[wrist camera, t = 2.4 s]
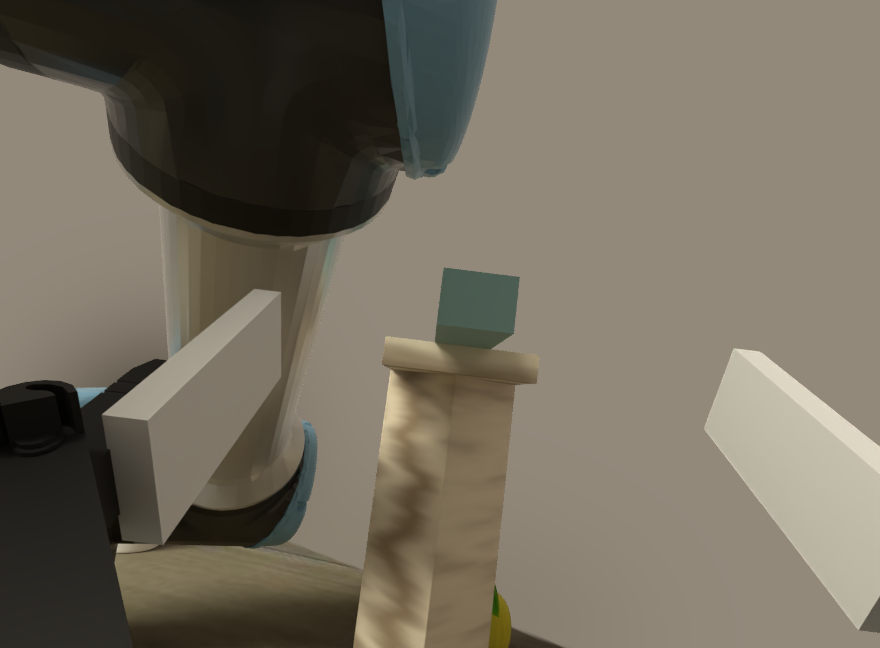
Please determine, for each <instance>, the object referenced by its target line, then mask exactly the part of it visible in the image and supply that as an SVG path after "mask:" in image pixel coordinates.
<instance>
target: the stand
mask: <svg viewBox="0 0 880 648" xmlns="http://www.w3.org/2000/svg"><path fill="white" fill-rule="evenodd" d="M382 365H384V366H386V367H388V368H390V369H391V371H390V378H389V386H388V393H387V400H386V408H385V415H384V423H383V430H382V437H381V445H380V452H379V459H378V467H377V474H376V482H375V489H374V497H373V505H372V511H371V519H370V526H369V533H368V541H367V548H366V556H365V563H364V570H363V578H362V585H361V592H360V600H359V607H358V615H357V622H356V629H355V637H354V644H353V648H488V646H489V636H490V627H491V617H492V607H493V597H494V588H495V578H496V567H497V558H498V549H499V539H500V529H501V519H502V509H503V500H504V490H505V480H506V470H507V461H508V450H509V440H510V431H511V422H512V412H513V401H514V392H515V385H521V384H536V383H537V375H538V365H539V355H532V354H525V353H516V352H508V351H500V350H492V349H484V348H476V347H468V346H460V345H452V344H444V343H436V342H428V341H419V340H412V339H403V338H396V337H388V336H386V339H385V347H384V353H383V361H382Z"/></svg>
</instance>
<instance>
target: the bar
mask: <svg viewBox="0 0 880 648" xmlns="http://www.w3.org/2000/svg"><path fill="white" fill-rule="evenodd" d="M519 278H520V277H514V276H507V275H499V274H490V273H482V272H474V271H467V270H459V269H451V268H444V271H443V278H442V286H441V294H440V302H439V310H438V318H437V326H436V336H435V342H436V343H444V344H452V345H460V346H468V347H476V348H484V349H492V348H493V347H495V346H496V345H498V344H499V343H501V342H502V341H504V340H505V339H506V338H508V337H509V336H511V335H512V334H514V326H515V316H516V306H517V297H518V288H519Z"/></svg>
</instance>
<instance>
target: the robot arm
mask: <svg viewBox="0 0 880 648" xmlns="http://www.w3.org/2000/svg"><path fill="white" fill-rule="evenodd" d="M496 3H497V0H0V64H2V65H5V66H7V67H10V68H14V69H18V70H22V71H25V72H29V73H33V74H37V75H41V76H45V77H48V78H51V79H55V80H59V81H62V82H66V83H70V84H73V85H78V86H81V87H84V88H87V89H90V90H94V91H97V92H100V93H101V94H102V95H103V97H104V99H105V105H106V110H107V118H108V126H109V133H110V139H111V145H112V150H113V153H114V155H115V158H116V160H117V162H118V164H119V166H120V167H121V169H122V170H123V172H124V173H125V175H126V176H127V177H128V178H129V179H130V180H131V181H132V182H133V183H134V184H135V185H136V186H137V187H138V188H139V189H140V190H141V191H142V192H143V193H145V194H146V195H147V196H148V197H150V198H151V199H152V200H154V201H155V202H157V203H158V204H159V215H160V231H161V245H162V246H161V247H162V263H163V278H164V295H165V310H166V326H167V342H168V358H169V360H159V359H154V360H152V361H149V362H147V363H144V364H142V365H140V366H137V367H135V368H133V369H131V370H130V371H129V372H127V373H126V374H125V375H123V376H122V377H121V378H120V379H119V380H117V383H113V384H112V385H110V386H109V387H108V388H74V386H73V385H71V384H68V383H65V382H62V381H50V380H49V381H48V380H42V381H33V382H25V383H20V384H16V385H12V386H8V387H5V388H3V389H0V648H133V645H132V640H131V636H130V631H129V627H128V622H127V618H126V613H125V609H124V605H123V600H122V596H121V591H120V587H119V582H118V578H117V573H116V569H115V564H114V561H115V556H116V551H117V546H118V544H157V545H163V544H167V545H211V546H243V547H244V548H253V549H255V548H259V547H261V546H276V545H281V544H283V543H285V542H287V541H288V540H290V539H291V538H292V537H293V536H294V534H295V533H296V532H297V530H298V528H299V527H300V525H301V522H302V520H303V518H304V515H305V512H306V505H307V503H306V502H307V501H308V500H309V498H310V495H311V491H312V487H313V482H314V476H315V470H316V461H317V436H316V432H315V430H314V428H313V427H312V425H311V424H310V423H309V422H307V421H303V420H301V419H300V416H299V414H298V412H297V411H296V409H297V405H298V401H299V398H300V394H301V390H302V387H303V383H304V379H305V376H306V373H307V369H308V365H309V362H310V358H311V354H312V351H313V347H314V344H315V340H316V336H317V333H318V329H319V325H320V322H321V318H322V315H323V311H324V307H325V304H326V300H327V297H328V293H329V290H330V286H331V282H332V279H333V275H334V271H335V268H336V264H337V261H338V257H339V253H340V250H341V246H342V243H343V239H344V235H347V234H350V233H352V232H354V231H356V230H358V229H361V228H363V227H364V226H366V225H367V224H369V223H370V222H372V221H373V220H374V219H375V218H376V217H377V216H378V215H379V214H380V213H381V212H382V210H383V209H384V208H385V206H386V204H387V202H388V200H389V198H390V195H391V192H392V188H393V185H394V183H395V180H396V176H397V174H398V171H399V170H400V171H405V172H406V176H407V177H409V178H412V179H417V178H420V177H423V176H424V177H436V176H437V175H439V174H441V173H443V172H444V171H445V169H446V167H447V165H448V164H449V163H451V162H452V161H453V160H454V158H455V156H456V154H457V152H458V150H459V148H460V145H461V143H462V141H463V138H464V135H465V133H466V130H467V127H468V124H469V121H470V118H471V115H472V111H473V108H474V105H475V101H476V97H477V94H478V90H479V86H480V83H481V79H482V75H483V71H484V66H485V62H486V57H487V53H488V48H489V43H490V37H491V32H492V27H493V21H494V15H495V9H496ZM704 430H705V431H706V432H707V434H708V435H709V436H710V437H711V439H712V440H713V441H714V443H715V444H716V445H717V447H718V448H719V449H720V450H721V452H722V453H723V454H724V456H725V457H726V458H727V460H728V461H729V462H730V464H731V465H732V466H733V467H734V469H735V470H736V471H737V473H738V474H739V475H740V477H741V478H742V479H743V480H744V482H745V483H746V484H747V486H748V487H749V488H750V490H751V491H752V492H753V493H754V495H755V496H756V497H757V499H758V500H759V501H760V503H761V504H762V505H763V507H764V508H765V509H766V510H767V512H768V513H769V514H770V516H771V517H772V518H773V520H774V521H775V522H776V523H777V525H778V526H779V527H780V529H781V530H782V531H783V533H784V534H785V535H786V537H787V538H788V539H789V540H790V542H791V543H792V544H793V545H794V547H795V548H796V549H797V551H798V552H799V553H800V555H801V556H802V557H803V559H804V560H805V561H806V562H807V564H808V565H809V566H810V568H811V569H812V570H813V572H814V573H815V574H816V576H817V577H818V578H819V579H820V581H821V582H822V583H823V585H824V586H825V587H826V589H827V590H828V591H829V593H830V594H831V595H832V596H833V598H834V599H835V600H836V602H837V603H838V604H839V605H840V607H841V608H842V609H843V611H844V612H845V613H846V615H847V616H848V617H849V619H850V620H851V621H852V623H853V624H854V625H855V626H856V628H857V629H858V630H860V631H869V632H877V633H880V447H879V446H878V445H877V444H876V443H874V442H873V441H872V440H871V439H869V438H868V437H867V436H865V435H864V434H863V433H862V432H860V431H859V430H858V429H857V428H855V427H854V426H853V425H852V424H850V423H849V422H848V421H847V420H845V419H844V418H843V417H842V416H840V415H839V414H838V413H836V412H835V411H834V410H833V409H832V408H830V407H829V406H828V405H826V404H825V403H824V402H823V401H821V400H820V399H819V398H818V397H816V396H815V395H814V394H813V393H811V392H810V391H809V390H808V389H806V388H805V387H804V386H803V385H801V384H800V383H799V382H797V381H796V380H795V379H794V378H793V377H791V376H790V375H789V374H788V373H786V372H785V371H784V370H782V369H781V368H780V367H779V366H777V365H776V364H775V363H774V362H772V361H771V360H770V359H769V358H767V357H766V356H765V355H764V354H762V353H761V352H758V351H750V350H742V349H733V352H732V355H731V358H730V360H729V363H728V365H727V368H726V371H725V373H724V376H723V379H722V381H721V384H720V387H719V389H718V392H717V395H716V397H715V400H714V403H713V405H712V408H711V411H710V413H709V416H708V419H707V422H706V424H705V427H704Z"/></svg>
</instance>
